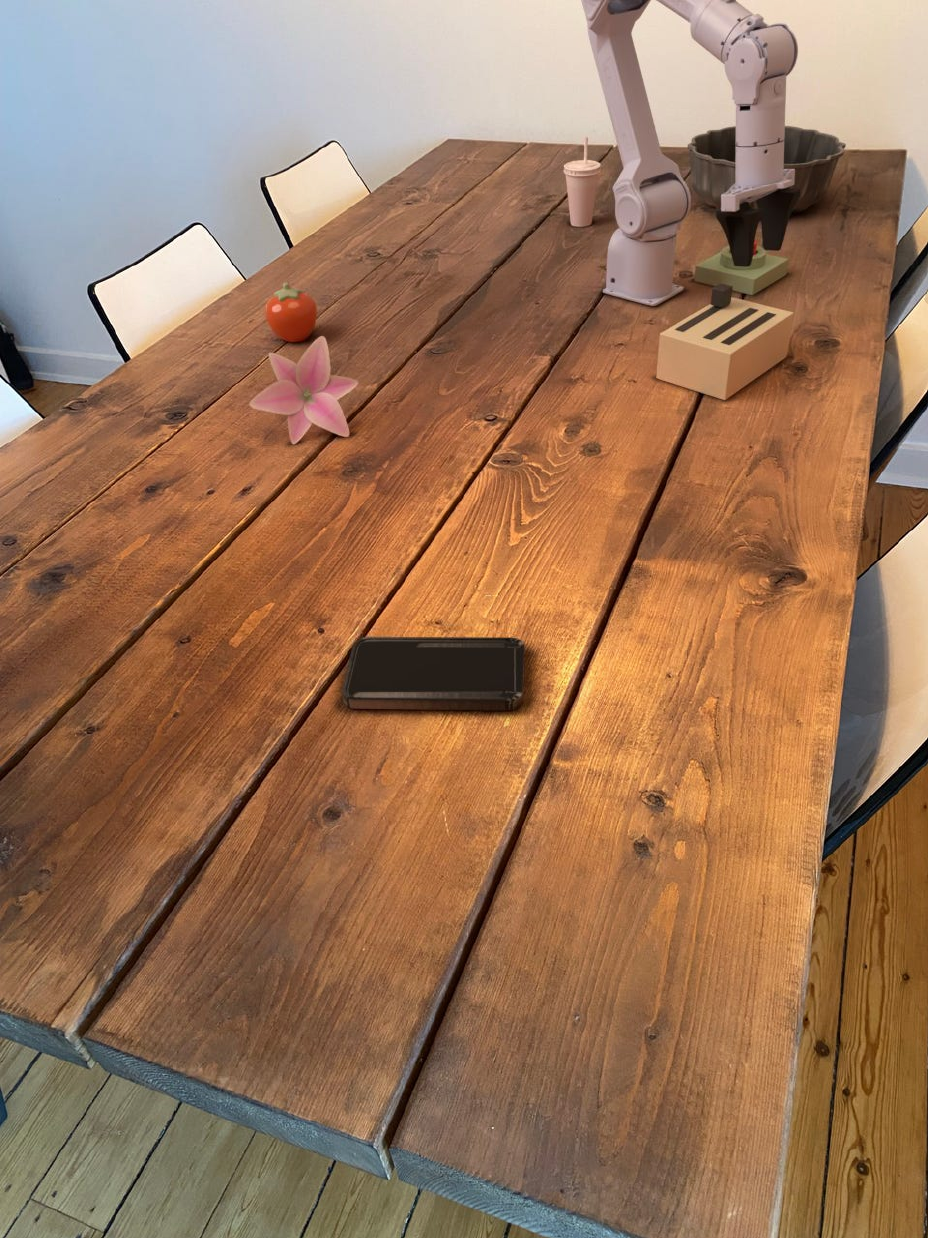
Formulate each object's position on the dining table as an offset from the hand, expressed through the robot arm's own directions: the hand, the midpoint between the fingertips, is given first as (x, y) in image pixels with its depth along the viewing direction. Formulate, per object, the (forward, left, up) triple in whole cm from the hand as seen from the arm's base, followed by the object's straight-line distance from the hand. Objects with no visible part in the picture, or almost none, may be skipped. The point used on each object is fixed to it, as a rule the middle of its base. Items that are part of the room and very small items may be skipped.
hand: (757, 257), depth 123 cm
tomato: (-51, -38, -10) cm, 65 cm away
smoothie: (-47, +24, -10) cm, 54 cm away
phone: (+15, -76, -10) cm, 78 cm away
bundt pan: (-27, +50, -10) cm, 58 cm away
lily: (-28, -54, -10) cm, 62 cm away
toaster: (+3, -11, -10) cm, 15 cm away
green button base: (-11, +17, -10) cm, 22 cm away
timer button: (-11, +17, -7) cm, 21 cm away
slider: (-1, -7, -4) cm, 8 cm away
